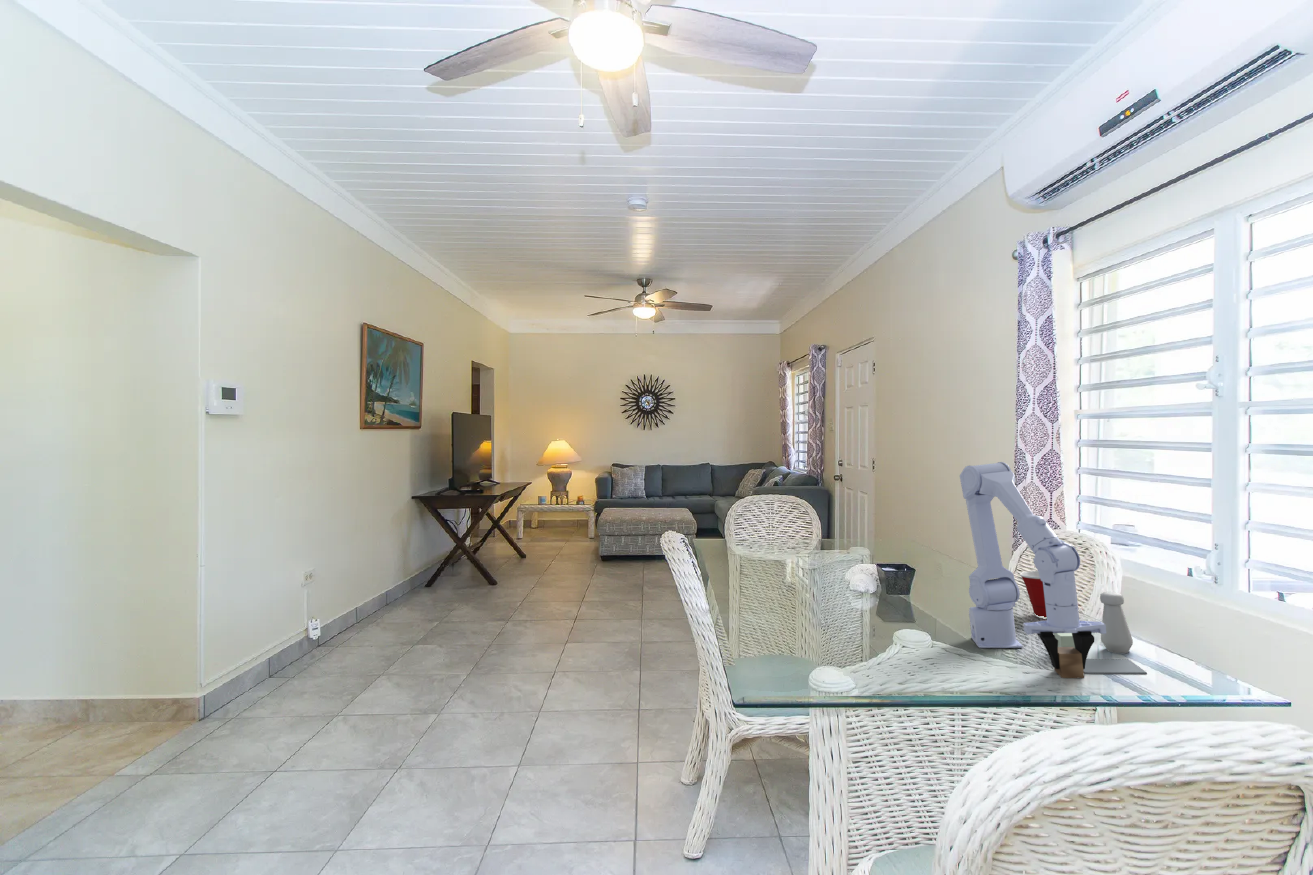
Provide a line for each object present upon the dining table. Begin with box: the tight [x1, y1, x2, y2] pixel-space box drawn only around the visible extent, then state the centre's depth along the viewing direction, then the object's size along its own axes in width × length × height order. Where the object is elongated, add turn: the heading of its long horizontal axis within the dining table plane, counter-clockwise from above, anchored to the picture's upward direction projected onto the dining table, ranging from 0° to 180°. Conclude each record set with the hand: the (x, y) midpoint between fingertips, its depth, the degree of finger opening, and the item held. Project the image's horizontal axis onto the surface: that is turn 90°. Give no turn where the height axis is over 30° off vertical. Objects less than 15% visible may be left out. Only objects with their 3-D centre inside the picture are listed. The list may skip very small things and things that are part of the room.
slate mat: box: [1083, 658, 1148, 675], centre depth 125 cm, size 11×8×1 cm
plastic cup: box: [1019, 570, 1047, 617], centre depth 159 cm, size 11×11×12 cm
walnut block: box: [1053, 647, 1085, 679], centre depth 124 cm, size 4×4×5 cm
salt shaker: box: [1099, 591, 1134, 655], centre depth 133 cm, size 6×6×13 cm
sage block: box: [1053, 633, 1075, 648], centre depth 133 cm, size 4×4×5 cm
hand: (1068, 667), depth 124 cm, fingers closed on walnut block, 4 cm apart
